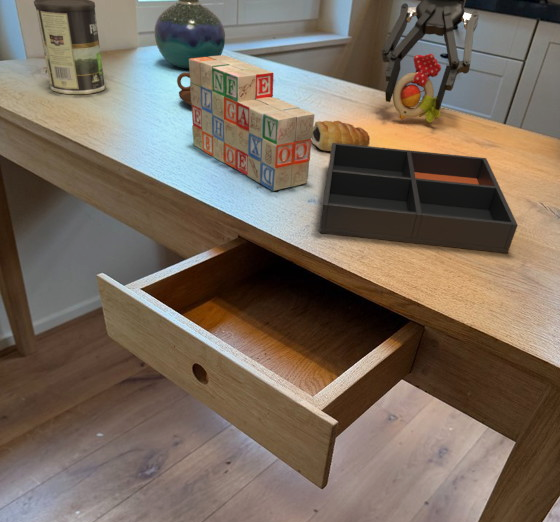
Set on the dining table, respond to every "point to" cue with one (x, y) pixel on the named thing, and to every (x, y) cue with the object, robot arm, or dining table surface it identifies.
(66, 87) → the coffee can
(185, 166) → the dining table surface
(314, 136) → the pastry
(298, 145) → the stack of blocks
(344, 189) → the grid
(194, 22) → the vase
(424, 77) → the bird rattle
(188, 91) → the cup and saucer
